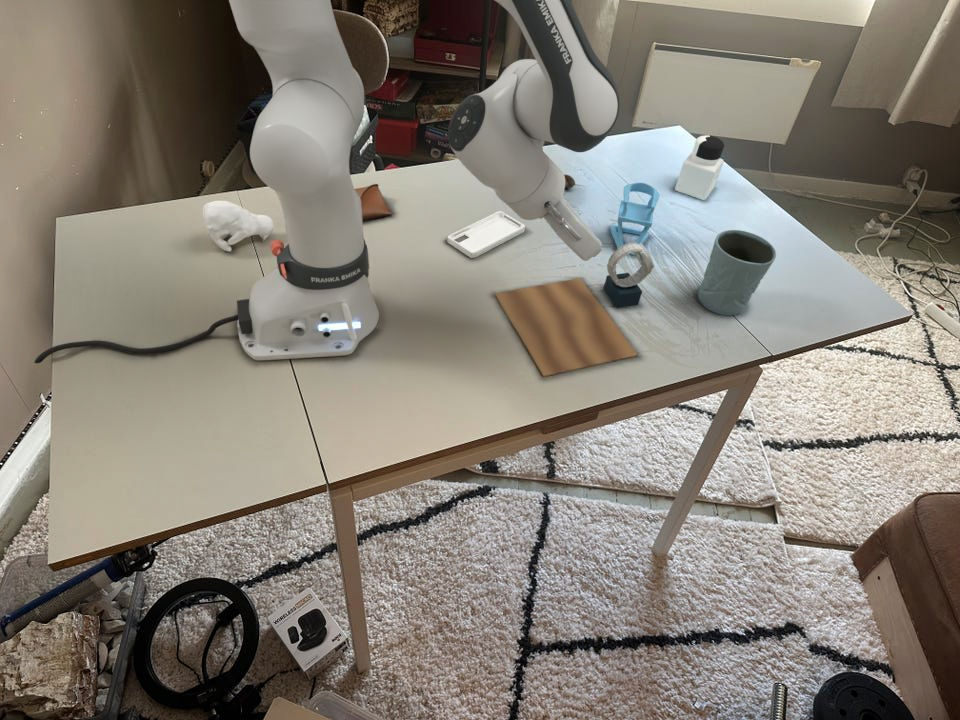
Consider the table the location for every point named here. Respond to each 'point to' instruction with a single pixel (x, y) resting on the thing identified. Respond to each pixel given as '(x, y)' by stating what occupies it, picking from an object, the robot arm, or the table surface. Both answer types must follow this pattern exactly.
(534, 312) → the wooden board
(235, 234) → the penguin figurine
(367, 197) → the sunglasses case
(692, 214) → the table surface
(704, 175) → the medicine bottle
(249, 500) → the table surface
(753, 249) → the grey-green cylindrical cup
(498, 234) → the phone case
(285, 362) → the table surface
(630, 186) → the chair
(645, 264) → the watch
